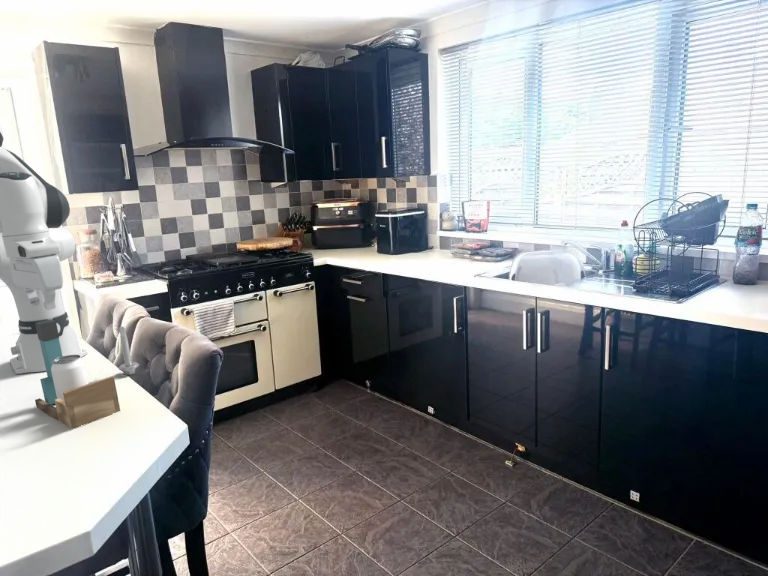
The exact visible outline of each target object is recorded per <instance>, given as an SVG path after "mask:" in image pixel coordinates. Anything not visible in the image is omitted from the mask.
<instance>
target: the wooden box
mask: <svg viewBox="0 0 768 576" xmlns="http://www.w3.org/2000/svg"><path fill="white" fill-rule="evenodd" d="M63 395H64V400H65V401H64V400H62V399H60V398H58V399H55V403H54V404H55V406H54V404H49V403H47V402H45V399H44V400H43V399H42V398H40V397H39V398H36V399H34V402H35V406H36V408H37V410H39V411H41V412H43V413H45V414H46V415H48V416H49V417H51V418H53V419H55V420H56V421H58V422H59V421H60V424H61V423H62V424H63V425H64V424H65V425H64V426H66V425H67V426H66V427H68V428H69V427H70V428H69V429H71V428H72V429H71V430H74V429H73V428H75V429H77V428H79V427H78V426H80V427H82V426H81V425H83V426H85V425H87V423H88V424H91V423H92V421H93V422H96V421H98V420H100V419H103V418H106V417H108V416H111V415H114V414H116V413H118V412H121V408H120V401H119V396H118V391H117V386H116V380H115V377H114V376H113V375H112V376H109V377H105V378H102V379H99V380H96V381H94V382H91V383H88V384H87V385H84V386H81V387H78V388H75V389H72V390H69V391H66V392H63ZM113 413H114V414H113ZM84 424H85V425H84ZM76 427H77V428H76Z"/></svg>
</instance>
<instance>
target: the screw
mask: <svg viewBox="0 0 768 576" xmlns="http://www.w3.org/2000/svg"><path fill="white" fill-rule="evenodd" d="M118 330H119V335H120V336H119V340H120V345H121V351H122V355H123V361H124V363H122V364H121V365H120V366H119V367H118V370H119V371H123V372H124V375H125V376H130V375H135V374H136V369H137V368H138V367H140V364H139V363H138V362H137V361H133V360H132V355H131V351H130V350H131V349H130V344H129V340H128V339H129V338H128V336H127V334H126V328H125V326H120V327H119V329H118Z"/></svg>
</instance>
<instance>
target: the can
mask: <svg viewBox="0 0 768 576" xmlns="http://www.w3.org/2000/svg"><path fill="white" fill-rule="evenodd" d="M80 357H81V356H80V355H67V356H63V357H59V358H57V359H54V360H53V361H52V367H51V372H52V377H53V382H54V386H55V391H56V395H57V399H58V398H60V399H62V400H64V395H63V392H66V391H69V390H72V389H75V388H78V387H81V386H84V385H87V384H89V380H88V375H87V370H86V365H85V362H84V360H83V359H82V357H81V358H80ZM64 401H65V400H64Z"/></svg>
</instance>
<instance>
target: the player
mask: <svg viewBox="0 0 768 576" xmlns="http://www.w3.org/2000/svg"><path fill="white" fill-rule="evenodd" d="M35 325H36V330H37V334H38V339H39V340H40V345H41V349H42V354H43V358H44V363H45V367H46V371H45V373H46V377H43V378H40V384H41V388H42V392H43V393H42V394H43V397H44V401H45V402H47V403H49V404H51V405H54V404H55V399H57V395H56V391H55V386H54V382H53V377H52V372H51V367H52V361H53V360H54V359H57V358H59V357H63V356H62V351H61V346H60V342H59V334H58V329H57V324H56V321H54V320H51V319H50V320H45V321H41V322H37V323H35Z"/></svg>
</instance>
